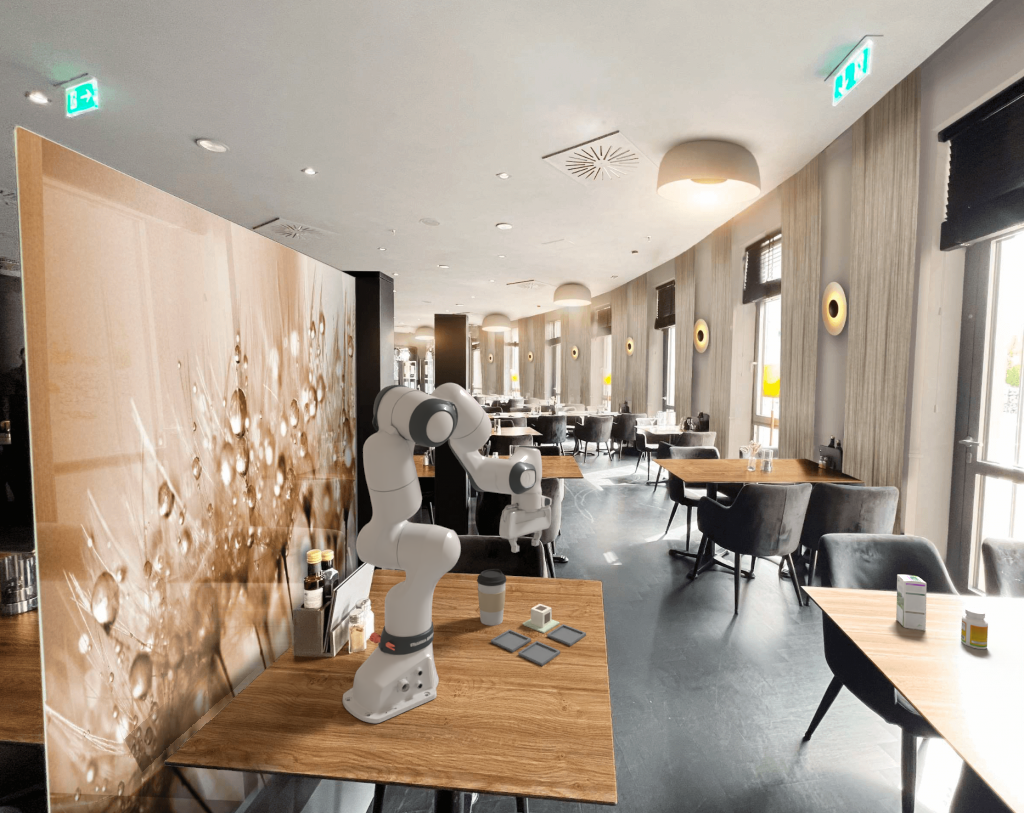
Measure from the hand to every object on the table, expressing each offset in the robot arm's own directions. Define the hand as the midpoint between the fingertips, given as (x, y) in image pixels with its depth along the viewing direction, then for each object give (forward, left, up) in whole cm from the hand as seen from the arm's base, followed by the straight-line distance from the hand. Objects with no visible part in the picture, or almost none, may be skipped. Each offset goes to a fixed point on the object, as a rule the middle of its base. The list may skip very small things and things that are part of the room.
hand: (525, 548), depth 146 cm
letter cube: (+6, -1, -24) cm, 25 cm away
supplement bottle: (+76, -100, -25) cm, 128 cm away
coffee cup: (-2, +12, -25) cm, 27 cm away
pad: (+6, -1, -24) cm, 25 cm away
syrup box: (+79, -86, -25) cm, 120 cm away
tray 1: (-8, -1, -24) cm, 26 cm away
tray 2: (-8, -11, -24) cm, 28 cm away
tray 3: (+5, -11, -24) cm, 27 cm away
